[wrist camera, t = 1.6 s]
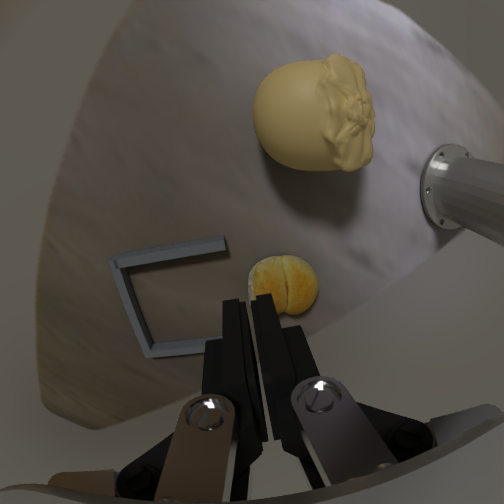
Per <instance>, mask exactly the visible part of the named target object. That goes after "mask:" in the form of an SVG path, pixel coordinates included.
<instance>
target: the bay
mask: <svg viewBox="0 0 504 504" xmlns="http://www.w3.org/2000/svg"><path fill="white" fill-rule="evenodd" d="M223 250H226V243H225V238H224V236H218V237H212V238H206V239H200V240H195V241H189V242H183V243H178V244H172V245H167V246H161V247H156V248H150V249H145V250H140V251H134V252H129V253H124V254H118V255H113V256H112V258H111V259H110V260H109V264H110V267H111V270H112V273H113V276H114V279H115V282H116V285H117V288H118V290H119V293H120V296H121V299H122V301H123V304H124V307H125V309H126V312H127V315H128V317H129V320H130V322H131V325H132V327H133V329H134V332H135V334H136V337H137V339H138V341H139V344H140V346H141V348H142V351H143V353H144V355H145V357H146V358H153V357H165V356H175V355H185V354H194V353H203V352H205V342H206V340H213V339H220V338H222V335H221V336H214V337H206V338H199V339H191V340H182V341H173V342H164V343H154V344H153V342H152V340H151V337H150V335H149V332H148V330H147V327H146V325H145V322H144V319H143V317H142V314H141V311H140V309H139V306H138V303H137V300H136V297H135V295H134V292H133V289H132V286H131V283H130V280H129V277H128V274H127V271H126V267H129V266H135V265H141V264H147V263H152V262H158V261H164V260H170V259H176V258H182V257H187V256H193V255H199V254H205V253H211V252H217V251H223Z"/></svg>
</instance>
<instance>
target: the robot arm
mask: <svg viewBox="0 0 504 504" xmlns="http://www.w3.org/2000/svg"><path fill="white" fill-rule="evenodd" d="M421 200H422V204H423V208H424V210H425V212H426V214H427V216H428V217H429V219H430V220H431V221H432V222H433V223H434V224H435V225H437V226H439V227H441V228H443V229H446V230H453V229H457V228H459V227H461V226H463V227H465V228H467V229H470V230H472V231H474V232H476V233H478V234H480V235H482V236H484V237H486V238H488V239H490V240H491V241H494V242H495V243H497V244H499V245H501V246H503V247H504V164H500V163H495V162H490V161H485V160H480V159H475V158H474V157H473V155H472V154H471V153H470V152H469V151H468V150H467V149H466V148H464V147H462V146H460V145H455V144H446V145H442V146H441V147H439V148H437V149H436V150H435V151H434V152H433V153H432V154H431V155H430V157H429V158H428V160H427V162H426V164H425V166H424V170H423V173H422V178H421ZM250 303H251V309H252V316H253V322H254V328H255V335H256V341H257V348H258V354H259V360H260V366H261V373H262V379H263V384H264V390H265V395H266V400H267V406H268V411H269V416H270V421H271V426H272V432H273V437H274V440H279V439H281V442H282V447H283V450H284V451H286V452H288V453H290V454H292V455H294V456H296V459H297V462H298V465H299V467H300V469H301V471H302V474H303V476H304V478H305V480H306V483H307V485H308V487H309V489H310V491H306V492H301V493H296V494H290V495H284V496H278V497H272V498H264V499H256V500H251V491H252V480H253V462H254V461H255V460H256V459H257V458H258V457H259V456H260V455H261V454H262V451H263V447H262V442H267V441H268V434H267V428H266V422H265V415H264V409H263V402H262V395H261V389H260V382H259V374H258V368H257V362H256V356H255V351H254V346H253V340H252V335H251V330H250V324H249V319H248V314H247V308H246V303H245V302H239V299H232V300H225V301H223V328H222V338H220V339H213V340H206V342H205V352H204V365H203V380H202V395H200V396H197V397H195V398H193V399H192V400H190V401H188V402H187V403H186V404H185V405H184V406H183V408H182V410H181V412H180V414H179V418H178V421H177V424H176V427H175V431H174V432H173V433H172V434H171V435H169V436H168V437H167V438H165V439H164V440H163V441H161V442H160V443H158V444H157V445H156V446H154V447H153V448H151V449H150V450H149V451H147V452H146V453H145V454H143V455H142V456H140V457H139V458H137V459H136V460H134V461H133V462H131V463H130V464H129V465H127V466H126V467H125V468H124V469H122V470H121V471H120V472H116V471H115V470H114V469H110V470H98V471H82V472H81V471H80V472H60V473H57V474H55V475H54V476H52V477H51V479H50V480H49V481H48V485H45V484H19V485H12V486H8V487H5V488H2V489H0V504H504V412H502V411H501V410H500V409H499V408H497V407H496V406H495V405H491V404H483V405H479V406H476V407H473V408H469V409H466V410H462V411H459V412H455V413H451V414H448V415H444V416H440V417H436V418H431V419H430V421H429V422H427V423H422V422H420V421H417V420H414V419H411V418H407V417H403V416H400V415H397V414H393V413H390V412H386V411H383V410H380V409H377V408H373V407H371V406H367V405H364V404H361V403H358V402H356V401H355V400H354V398H353V397H352V395H351V394H350V393H349V391H348V390H347V389H346V387H345V386H344V385H343V384H342V383H341V382H340V381H338V380H336V379H334V378H331V377H327V376H320V374H319V371H318V369H317V366H316V364H315V361H314V358H313V356H312V353H311V351H310V348H309V345H308V343H307V340H306V338H305V335H304V332H303V330H302V328H301V326H300V325H298V326H293V327H287V328H281V325H280V321H279V318H278V314H277V311H276V307H275V304H274V301H273V297H272V294H271V293H268V294H262V295H256V300H251V301H250Z"/></svg>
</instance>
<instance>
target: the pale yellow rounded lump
mask: <svg viewBox="0 0 504 504" xmlns="http://www.w3.org/2000/svg"><path fill="white" fill-rule="evenodd" d="M374 117H375V112H374V109H373V105H372V97H371V95H370V93H369V91H368V90H367V88H366V81H365V74H364V71H363V69H362V68H361V66H360V65H359V64H357V63H356V62H352V61H351V60H350V59H348V58H346V57H344V56H341V55H337V54H333V55H330V56H329V57H327V58H326V59H325V60H310V61H301V62H295V63H290V64H287V65H284V66H282V67H280V68H278V69H276V70H274V71H273V72H271V73H270V74H269V75H268V76H267V77H266V78H265V79H264V80H263V81H262V82H261V84H260V85H259V87H258V89H257V92H256V94H255V97H254V102H253V124H254V128H255V132H256V135H257V137H258V139H259V142H260V143H261V145H262V147H263V148H264V150H265V151H266V152H267V153H268V154H269V155H270V156H271V157H272V158H273V159H274V160H276V161H277V162H279V163H280V164H282V165H284V166H287V167H289V168H293V169H297V170H302V171H334V170H339V169H341V170H342V171H345V172H352V171H355V170H357V169H359V168H361V167H362V166H363V165H368V164H369V163H370V162H371V159H372V157H373V146H372V138H373V135H374V133H375V124H374Z"/></svg>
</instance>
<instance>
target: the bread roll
mask: <svg viewBox="0 0 504 504" xmlns="http://www.w3.org/2000/svg"><path fill="white" fill-rule="evenodd" d="M318 289H319V281H318V278H317V275H316V273H315V272H314V270H313V268H312V267H311V266H310V265H309V264H308V263H307V262H305V261H304V260H303V259H301V258H299V257H296V256H292V255H283V256H271V257H268V258H265V259H263V260H261V261H260V262H258V263H256V264H255V266H254V267H253V268H252V270H251V271H250V273H249V280H248V293H249V304H250V305H251V303H250V301H251V300H256V295H262V294H268V293H271V294H272V297H273V301H274V304H275V307H276V311H277V314H280V313H282V312H286V313H288V314H291V315H297V314H300V313H303V312H304V311H306V310H307V309H309V308H310V306H311V305H312V304H313V302H314V301H315V299H316V297H317V294H318Z"/></svg>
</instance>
